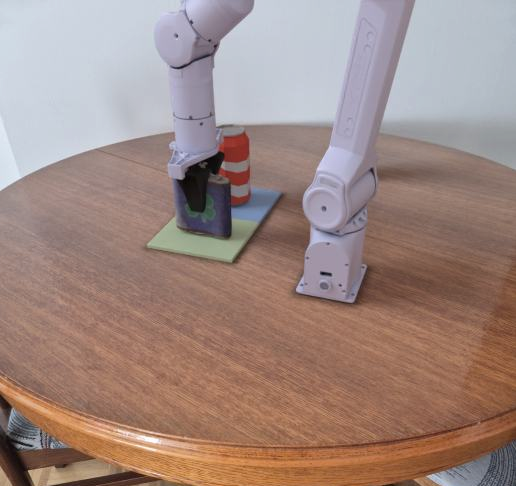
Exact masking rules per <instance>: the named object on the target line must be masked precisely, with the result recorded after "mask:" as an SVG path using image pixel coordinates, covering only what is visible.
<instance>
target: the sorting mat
mask: <svg viewBox="0 0 516 486" xmlns="http://www.w3.org/2000/svg"><path fill="white" fill-rule="evenodd" d="M250 191H251V196H250V198H249V199H248V201H246V202H244V203H243V204H241V205H238V206H231V216H232V234H231V235H232V236H231V237H229V238H225V239H221V238H218V237H214V236H208V235H207V234H197V233H194V232H190V231H183V230H180V229H179V228H177V226H176V214H175V215H174V216H173V218H171V219H170V220H169V221H168V223H166V224H165V225H164V226H163V227H162V229H160V231H158V232H157V233H156V235H154V236H153V237H152V238H151V240H149V241H148V242H147V243H146V248H148V249H153V250H159V251H163V252H169V253H175V254H181V255H185V256H190V257H195V258H196V257H197V258H202V259H207V260H214V261H219V262H224V263H230V264H232V263H233V262H234V261H235V259H237V256H238V255H239V254H240V252H241V251H242V250H243V248H244V247H245V246H246V244H247V243H248V241H250V239H251V238H252V236H253V235H254V233H255V232H256V230H257V229H258V228H259V227H260V225H261V224H262V222H263V221H264V219H265V218H266V217H267V216H268V214H269V212H270V211H271V210H272V208H273V207H274V206H275V204H276V202H278V201H279V199H280V197H281V196H282V193H283V192H282V191H280V190H274V189H267V188H260V187H253V186H250Z"/></svg>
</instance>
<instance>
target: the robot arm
mask: <svg viewBox="0 0 516 486" xmlns="http://www.w3.org/2000/svg"><path fill="white" fill-rule="evenodd" d="M179 2H180V6H179V8H178V11H166V12H164V13H161V14H160V16H159V18H158V20H157V21H156V23H155V26H154V31H153V40H154V44H155V48H156V51H157V53H158V55H159V56H160V58H161V60H163V61H164V63H166V66H167V76H168V84H169V89H170V90H169V92H170V100H171V101H170V102H171V111H172V120H173V127H174V137H175V140H173V141H171V142H170V143H168V144H169V145H168V147H169V150H171V151H173V152H172V155H171V159H170V161H169V162H168V163H167V166H166V167H167V174H168V178H169V179H172V178H173V179H176V180H177V182H178V183H179V185H180V186H181V188H182V190H183V192H184V195H185V197H186V200H187V202H188V205H189V208H190V210H191V211H194V212H201V213H203V212H204V211H205V206H206V188H207V182H208V178H209V175H210V173H211V174H214V175H216V174H219V171H220V168H221V165H222V163H223V161H224V159H225V154H224V153H223V152H220V151H219V144H221V143H223V142H224V141H223V129H218V128H216V127H217V122H216V121H217V120H216V105H215V91H214V75H213V71H214V69H215V57H216V54H217V52H218V50H219V48H220V45H221V41H222V40H223V39H224V38H225V37H226V36H227V35H228V34H229V33H231V31H232V30H233V29H234V28H236V27H237V26H238V25H239V24H240V23H241V22H242V21H243V20H244V19H246V17H248V16H249V15H250V14H251V13H252V11H253V10H254V6H255V0H180V1H179ZM415 4H416V0H360V1H359V6H358V10H357V15H356V18H355V25H354V29H353V34H352V39H351V43H350V47H349V53H348V58H347V61H346V66H345V70H344V75H343V80H342V84H341V90H340V93H339V99H338V104H337V108H336V113H335V117H334V121H333V126H332V131H331V135H330V136H331V137H330V141H329V146H328V148H327V149H326V152H325V153H324V155H323V157H322V159H321V160H320V162H319V164H318V166H317V168H316V170H315V174H314V179H313V180H312V183H311V184H310V185H309V186H308V187H307V189H306V190H305V192H304V193H303V196H302V209H303V213H304V215H305V218H306V219H307V220H308V222H309V223H310V232H309V244H308V246H307V248H306V250H305V253H304V265H303V266H304V267H303V274H302V277H301V278H300V281H299V282H298V284H297V286H296V288H295V292H296V293H297V294H301V295H306V296H312V297H316V298H321V299H327V300H332V301H336V302H337V301H338V302H344V303H349V304H353V303H355V302H356V299H357V296H358V293H359V291H360V287H361V285H362V282H363V280H364V277H365V275H366V272H367V270H368V265H367V264H366V263H363V255H364V246H365V240H366V232H367V231H366V230H367V223H368V210H367V208H368V203H369V202H371V201H372V200H373V199H374V198H375V196H376V195H377V192H378V189H379V178H378V172H377V171H378V170H377V169H378V168H377V167H378V164H379V163H378V162H379V159H380V156H379V154H378V153H377V152H376V150H375V149H376V148H375V147H376V144H377V141H378V137H379V133H380V130H381V126H382V123H383V120H384V117H385V111H386V108H387V105H388V102H389V98H390V94H391V90H392V88H393V87H392V86H393V84H394V80H395V76H396V73H397V69H398V65H399V61H400V58H401V54H402V51H403V47H404V44H405V39H406V36H407V33H408V29H409V25H410V22H411V17H412V14H413V10H414V7H415ZM203 162H206V163H207V164H205V166H206V167H205V168H201V166H200V165H199V164H200V163H202V164H203ZM217 176H218V175H217Z"/></svg>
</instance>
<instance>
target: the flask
mask: <svg viewBox="0 0 516 486" xmlns="http://www.w3.org/2000/svg"><path fill="white" fill-rule="evenodd" d="M205 164H207V163H206V162H203V164H202V163H200V164H199V165H200V166H201V168H205V167H206V166H205ZM217 175H218V174H216V175H214V174H211V173H210V175H209V178H208V182H207V188H206V206H205V211H204V212H203V213H201V212H194V211H191V210H190V208H189V205H188V202H187V200H186V197H185V195H184V192H183V190H182V188H181V186H180V185H179V183H178V182H177V180H176V179H173V178H171V180H172V187H173V196H174V197H173V198H174V210H175V212H174V213H175V215H176V226H177V228H179V229H180V230H183V231H190V232H194V233H197V234H207V235H208V236H214V237H218V238H221V239H225V238H229V237H231V236H232V235H231V234H232V216H231V182H230V180H229V179H228V178H225V177H222V175H218V176H217Z"/></svg>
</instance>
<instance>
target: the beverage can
mask: <svg viewBox="0 0 516 486" xmlns="http://www.w3.org/2000/svg"><path fill="white" fill-rule="evenodd" d="M216 128H218V129H223V141H224V142H223V143H221V144H219V151H220V152H223V153H224V154H225V159H224V161H223V163H222V165H221V168H220V171H219V174H218V175H222V177H225V178H228V179H229V180H230V182H231V206H238V205H241V204H243V203H244V202H246V201H248V199H249V198H250V196H251V191H250V187H251V160H250V158H251V157H250V156H251V155H250V154H251V153H250V138H249V136H248V135H247V133H246V128H245V127H244V126H242V125H240V124H234V123H233V124H232V123H231V124H230V123H229V124H220V125H216Z"/></svg>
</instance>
